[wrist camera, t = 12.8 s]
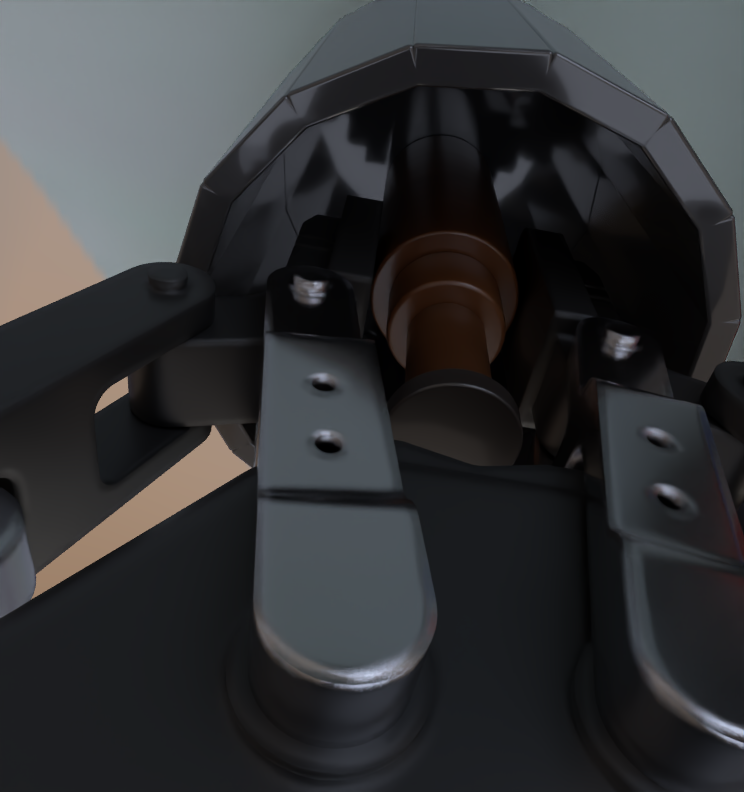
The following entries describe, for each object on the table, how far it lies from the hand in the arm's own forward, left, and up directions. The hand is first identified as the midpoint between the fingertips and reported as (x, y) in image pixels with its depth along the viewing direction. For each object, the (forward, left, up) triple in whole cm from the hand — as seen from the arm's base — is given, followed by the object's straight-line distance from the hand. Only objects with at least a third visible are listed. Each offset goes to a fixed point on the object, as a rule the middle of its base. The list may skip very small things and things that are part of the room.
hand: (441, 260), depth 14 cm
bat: (0, 0, -4) cm, 4 cm away
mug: (+1, +1, -5) cm, 5 cm away
